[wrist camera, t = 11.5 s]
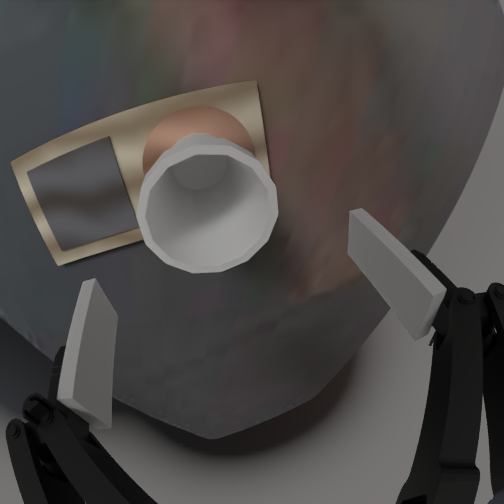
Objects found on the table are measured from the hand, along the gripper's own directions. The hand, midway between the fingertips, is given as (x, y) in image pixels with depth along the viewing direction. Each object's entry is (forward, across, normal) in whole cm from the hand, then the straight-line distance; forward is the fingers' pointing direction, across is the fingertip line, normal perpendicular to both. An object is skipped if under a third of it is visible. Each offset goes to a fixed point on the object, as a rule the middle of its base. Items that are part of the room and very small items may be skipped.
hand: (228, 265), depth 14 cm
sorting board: (+20, -7, 0) cm, 21 cm away
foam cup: (+19, 0, 0) cm, 19 cm away
